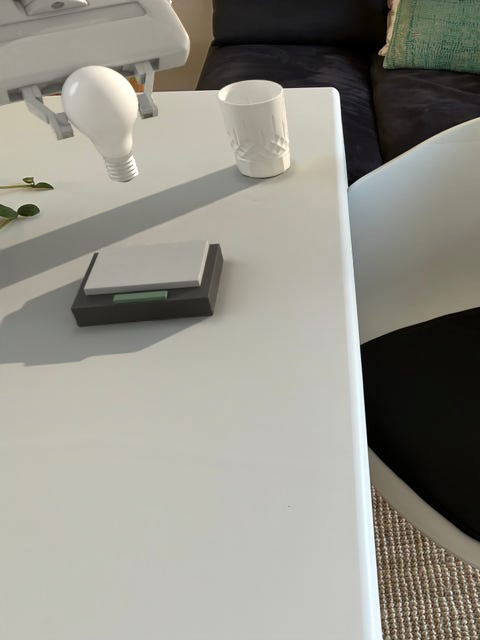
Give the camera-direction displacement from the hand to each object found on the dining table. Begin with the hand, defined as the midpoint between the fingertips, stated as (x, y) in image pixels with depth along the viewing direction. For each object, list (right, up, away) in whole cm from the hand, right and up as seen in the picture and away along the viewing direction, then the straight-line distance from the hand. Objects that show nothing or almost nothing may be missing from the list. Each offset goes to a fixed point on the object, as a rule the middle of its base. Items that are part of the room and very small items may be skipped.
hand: (108, 125), depth 72 cm
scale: (0, -14, +9) cm, 17 cm away
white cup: (+6, +4, +31) cm, 32 cm away
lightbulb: (0, -4, +4) cm, 6 cm away
